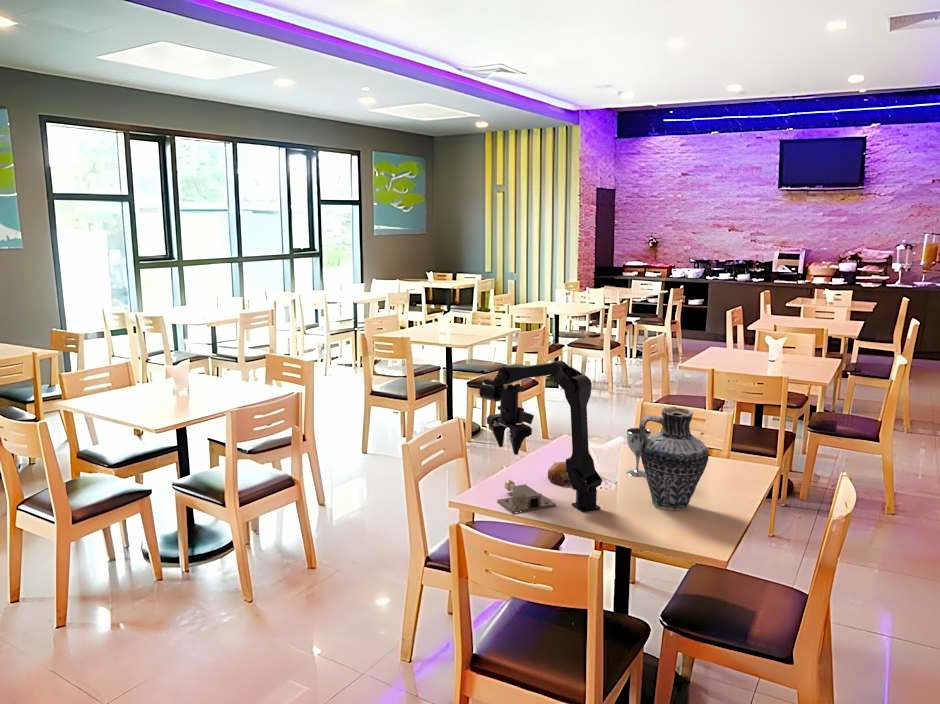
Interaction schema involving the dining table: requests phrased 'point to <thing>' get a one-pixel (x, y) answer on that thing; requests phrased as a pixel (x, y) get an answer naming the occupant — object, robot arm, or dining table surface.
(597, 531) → the dining table surface
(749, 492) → the dining table surface
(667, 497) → the jug
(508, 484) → the pin
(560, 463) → the bread roll
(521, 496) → the hinge
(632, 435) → the wine glass
